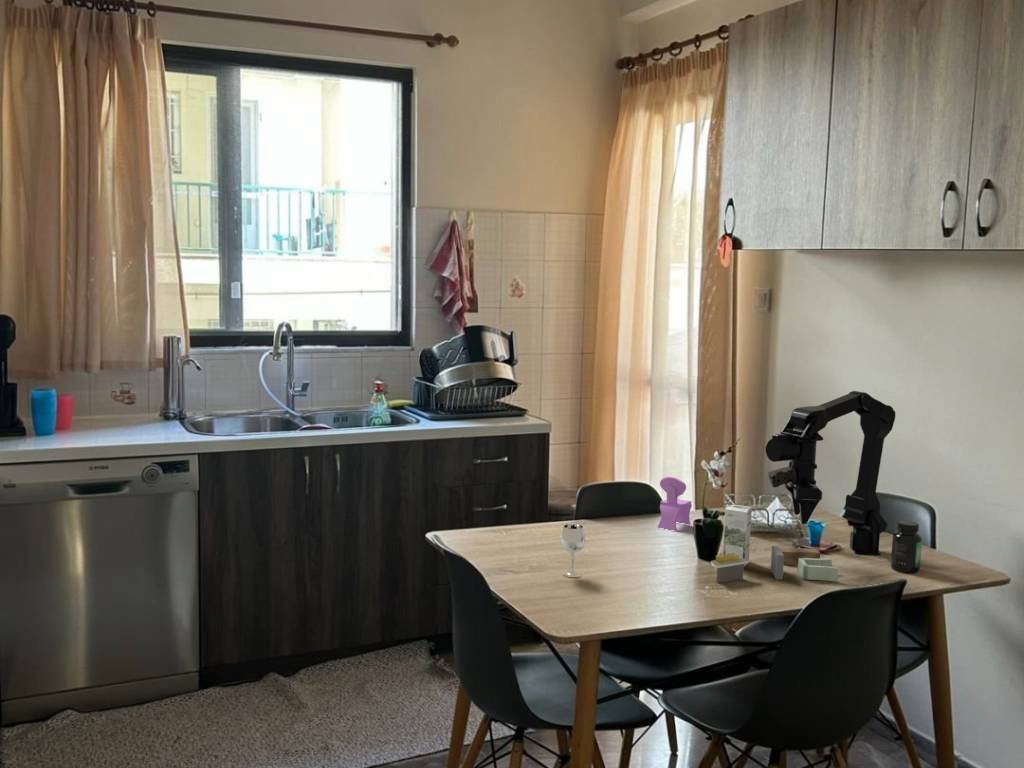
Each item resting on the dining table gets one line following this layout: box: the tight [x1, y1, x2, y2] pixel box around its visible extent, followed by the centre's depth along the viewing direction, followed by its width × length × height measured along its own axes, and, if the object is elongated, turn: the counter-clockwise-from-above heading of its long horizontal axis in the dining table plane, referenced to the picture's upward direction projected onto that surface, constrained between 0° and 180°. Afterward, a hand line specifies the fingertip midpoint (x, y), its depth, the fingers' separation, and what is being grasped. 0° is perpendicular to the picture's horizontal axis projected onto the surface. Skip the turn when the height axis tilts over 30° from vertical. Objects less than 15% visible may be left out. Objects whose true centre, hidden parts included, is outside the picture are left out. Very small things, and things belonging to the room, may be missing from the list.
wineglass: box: [560, 523, 586, 576], centre depth 243 cm, size 6×6×12 cm
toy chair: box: [656, 476, 692, 532], centre depth 289 cm, size 8×9×15 cm
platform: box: [710, 553, 750, 584], centre depth 242 cm, size 12×18×7 cm, turn 118°
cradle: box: [797, 557, 839, 583], centre depth 246 cm, size 8×9×3 cm
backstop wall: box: [770, 545, 784, 581], centre depth 247 cm, size 2×8×6 cm, turn 175°
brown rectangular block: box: [779, 547, 821, 566], centre depth 257 cm, size 10×4×4 cm, turn 89°
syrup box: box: [722, 504, 753, 568], centre depth 255 cm, size 6×6×14 cm
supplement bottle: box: [890, 520, 923, 574], centre depth 253 cm, size 7×7×12 cm
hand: (800, 519), depth 256 cm, fingers open, 9 cm apart
